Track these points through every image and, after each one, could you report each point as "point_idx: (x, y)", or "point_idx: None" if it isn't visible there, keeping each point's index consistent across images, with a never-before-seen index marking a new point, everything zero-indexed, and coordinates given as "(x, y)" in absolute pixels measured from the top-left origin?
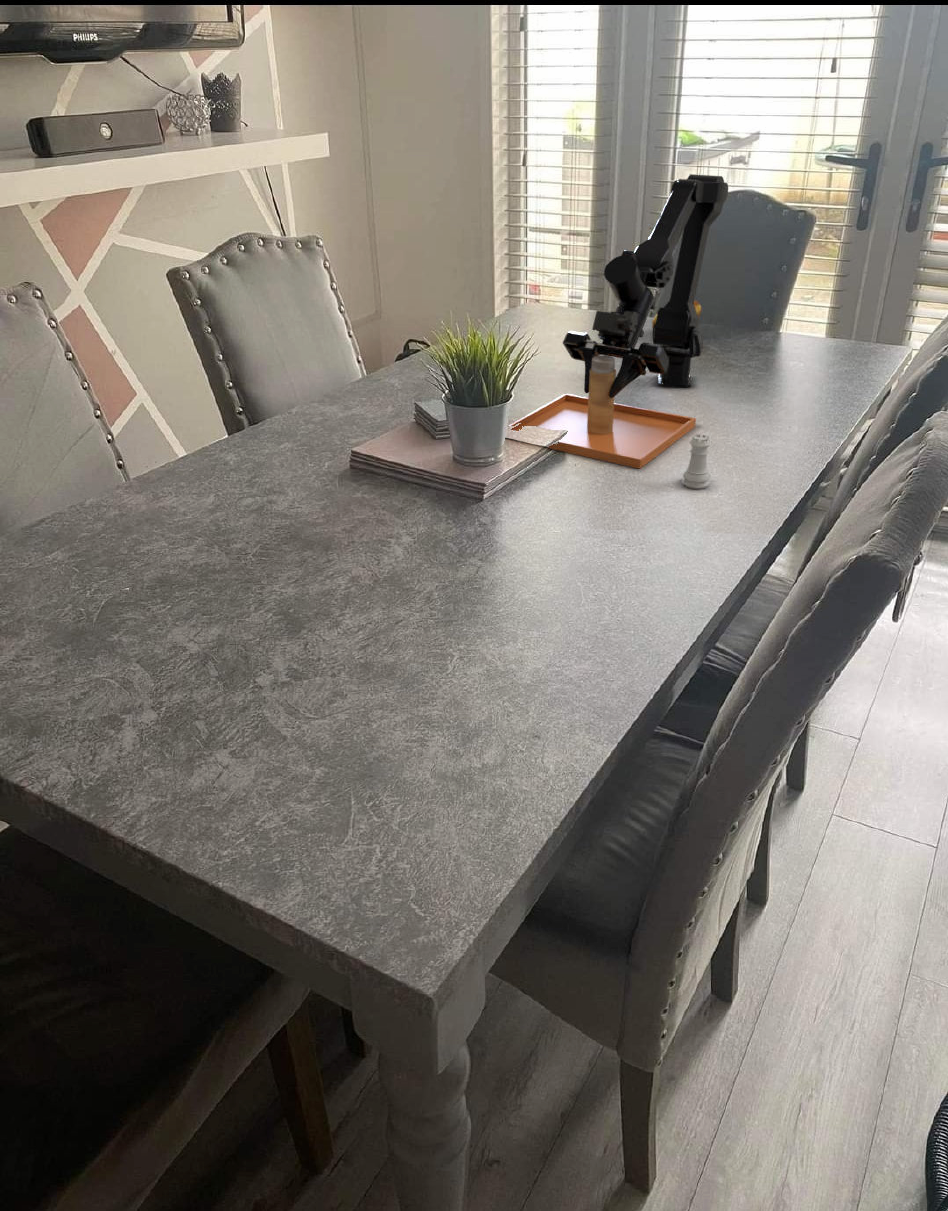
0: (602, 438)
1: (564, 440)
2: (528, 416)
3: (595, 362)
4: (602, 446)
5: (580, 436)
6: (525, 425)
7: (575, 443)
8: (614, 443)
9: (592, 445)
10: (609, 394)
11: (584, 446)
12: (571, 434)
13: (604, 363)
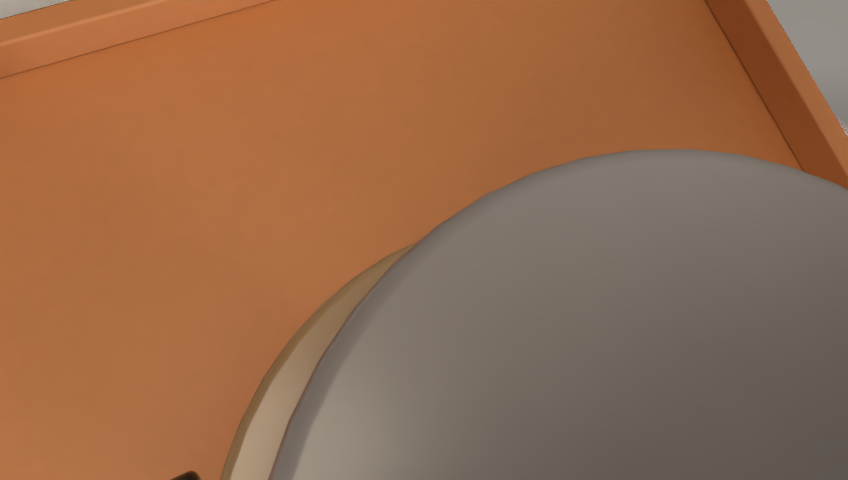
0: (195, 382)
1: (347, 111)
2: (814, 122)
3: (618, 159)
4: (48, 260)
5: (345, 260)
6: (740, 89)
7: (246, 134)
8: (26, 391)
9: (124, 211)
10: (192, 474)
11: (24, 29)
12: (421, 231)
13: (338, 335)
